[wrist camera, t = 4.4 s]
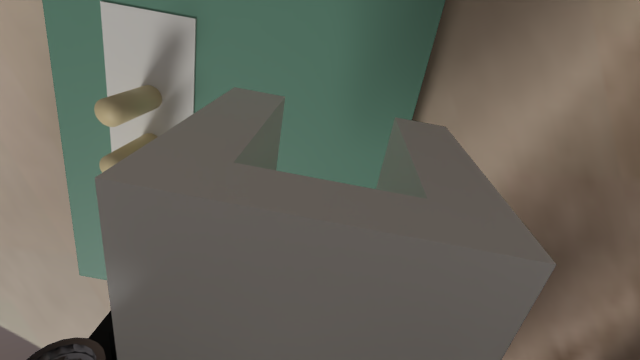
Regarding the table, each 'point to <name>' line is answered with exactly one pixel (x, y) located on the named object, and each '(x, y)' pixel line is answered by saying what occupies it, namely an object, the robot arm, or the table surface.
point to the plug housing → (309, 248)
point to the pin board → (232, 81)
